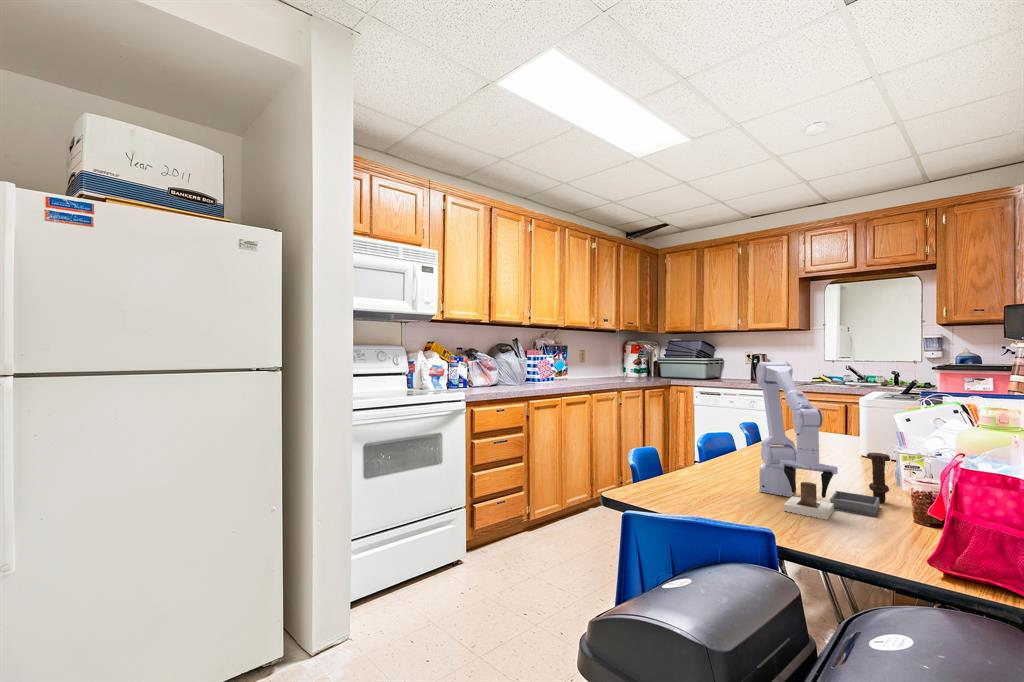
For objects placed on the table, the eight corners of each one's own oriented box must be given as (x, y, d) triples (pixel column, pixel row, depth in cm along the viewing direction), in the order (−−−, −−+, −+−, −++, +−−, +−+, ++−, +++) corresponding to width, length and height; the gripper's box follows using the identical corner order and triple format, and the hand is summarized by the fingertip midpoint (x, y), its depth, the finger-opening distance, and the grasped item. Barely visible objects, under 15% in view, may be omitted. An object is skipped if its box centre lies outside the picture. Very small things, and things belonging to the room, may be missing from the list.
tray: (830, 508, 145) (830, 498, 145) (836, 500, 153) (835, 490, 153) (875, 516, 138) (875, 506, 138) (879, 507, 146) (879, 497, 146)
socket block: (783, 511, 143) (783, 504, 143) (792, 502, 151) (791, 496, 151) (827, 519, 135) (827, 512, 135) (833, 510, 144) (833, 503, 144)
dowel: (799, 511, 143) (799, 484, 143) (802, 507, 146) (802, 481, 146) (815, 514, 140) (814, 486, 140) (817, 510, 143) (817, 483, 143)
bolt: (893, 505, 148) (892, 456, 148) (875, 504, 149) (874, 455, 149) (883, 499, 153) (882, 452, 154) (865, 498, 154) (864, 452, 155)
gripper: (777, 447, 145) (778, 492, 145) (834, 454, 136) (835, 502, 135) (782, 444, 151) (783, 488, 150) (838, 450, 141) (839, 496, 141)
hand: (808, 494), depth 143 cm, fingers open, 7 cm apart
